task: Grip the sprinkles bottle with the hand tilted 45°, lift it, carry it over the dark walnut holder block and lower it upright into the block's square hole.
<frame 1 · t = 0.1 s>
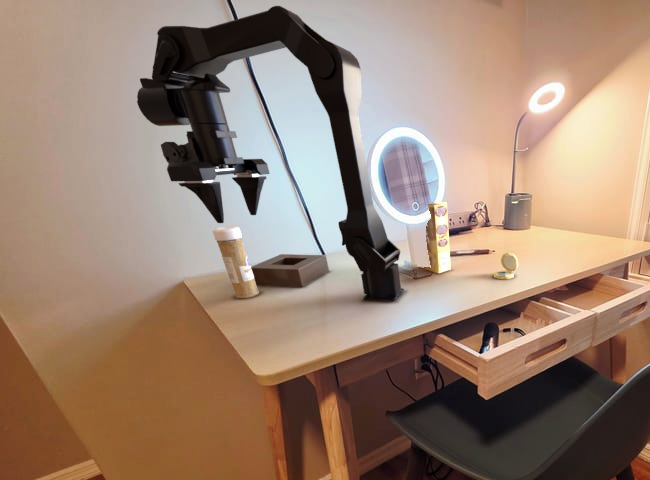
hand: (238, 218, 73), 15 cm above the table, tool pointing down, fingers open, 9 cm apart
eyeshadow: (504, 276, 85), on the table
sprinkles bottle: (247, 296, 78), on the table
holder: (293, 278, 87), on the table
candy box: (432, 269, 92), on the table
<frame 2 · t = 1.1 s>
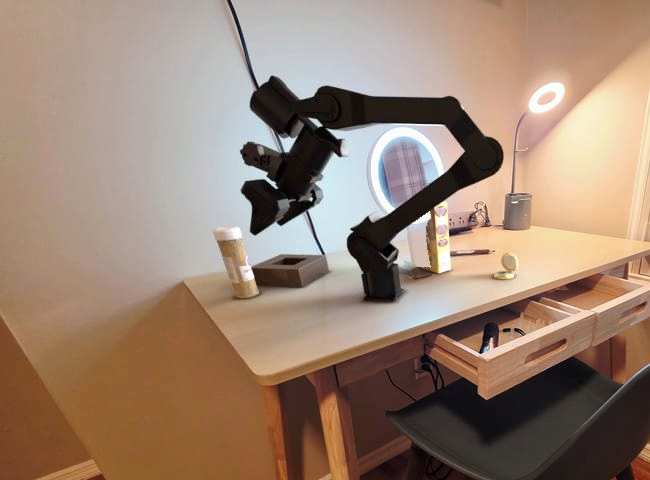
hand: (266, 228, 70), 13 cm above the table, tool tilted 45°, fingers open, 9 cm apart
nothing on the table moved.
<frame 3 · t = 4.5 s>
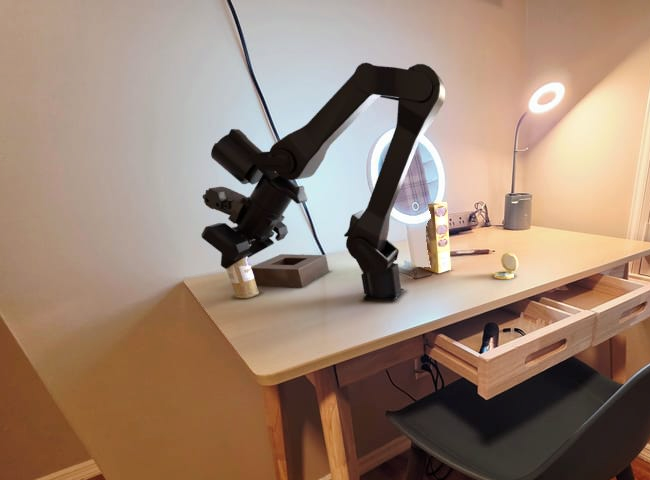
hand: (230, 263, 74), 7 cm above the table, tool tilted 45°, fingers closed on sprinkles bottle, 4 cm apart
sprinkles bottle: (247, 296, 78), on the table, touching gripper
everything else where it was.
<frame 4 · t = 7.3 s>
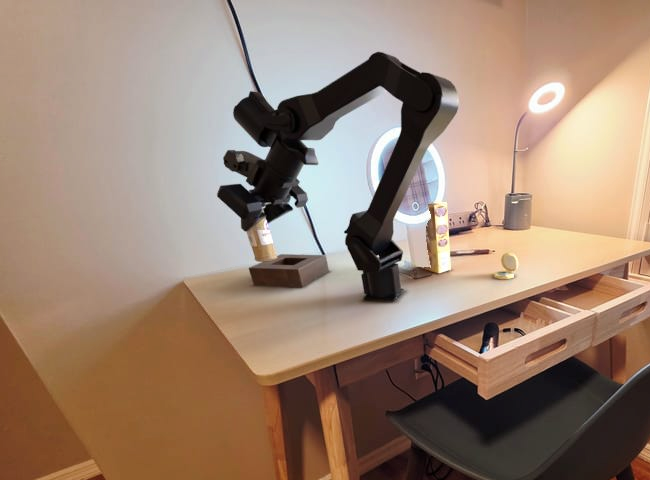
hand: (251, 227, 78), 12 cm above the table, tool tilted 45°, fingers closed on sprinkles bottle, 4 cm apart
sprinkles bottle: (266, 260, 81), point 5 cm above the table, touching gripper
everything else where it was.
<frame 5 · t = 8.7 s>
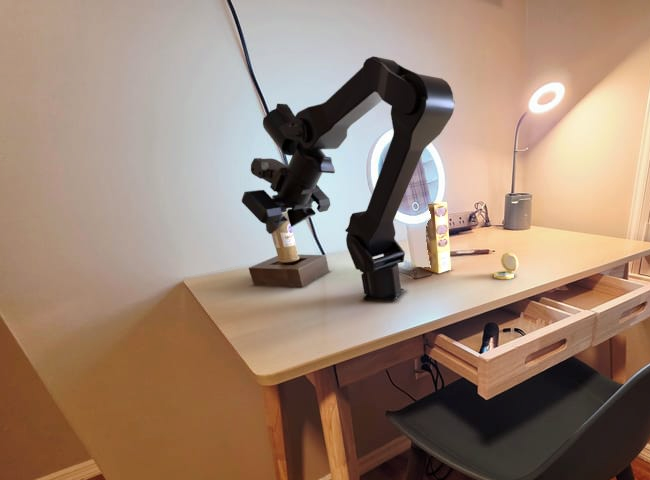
hand: (276, 230, 82), 11 cm above the table, tool tilted 45°, fingers closed on sprinkles bottle, 4 cm apart
sprinkles bottle: (289, 261, 85), point 4 cm above the table, touching gripper
everything else where it was.
when the fingers open (7 cm above the table, at t = 10.2 s): sprinkles bottle stays where it is, resting in holder.
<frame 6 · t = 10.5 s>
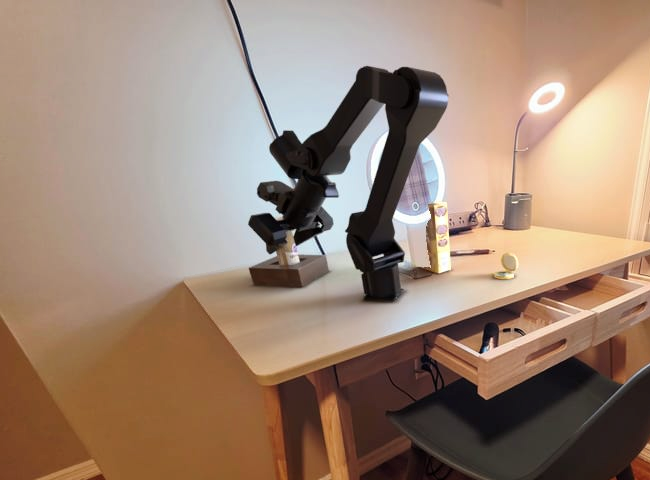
hand: (281, 249, 84), 7 cm above the table, tool tilted 45°, fingers open, 7 cm apart
sprinkles bottle: (293, 279, 87), resting in holder
everything else where it was.
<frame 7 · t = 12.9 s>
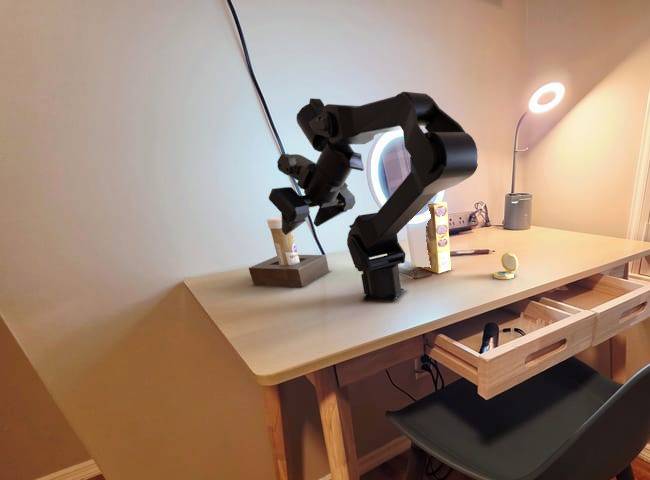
hand: (300, 228, 80), 11 cm above the table, tool tilted 45°, fingers open, 9 cm apart
nothing on the table moved.
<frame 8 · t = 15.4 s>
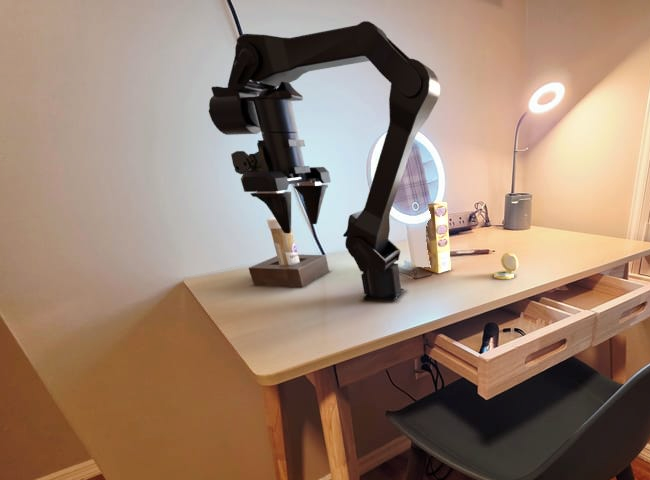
hand: (301, 228, 71), 13 cm above the table, tool pointing down, fingers open, 9 cm apart
nothing on the table moved.
at the end: sprinkles bottle 0.2 cm off-centre in the holder, point 0.0 cm above the holder's base; sprinkles bottle tilted 0°; the gripper is holding nothing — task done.
